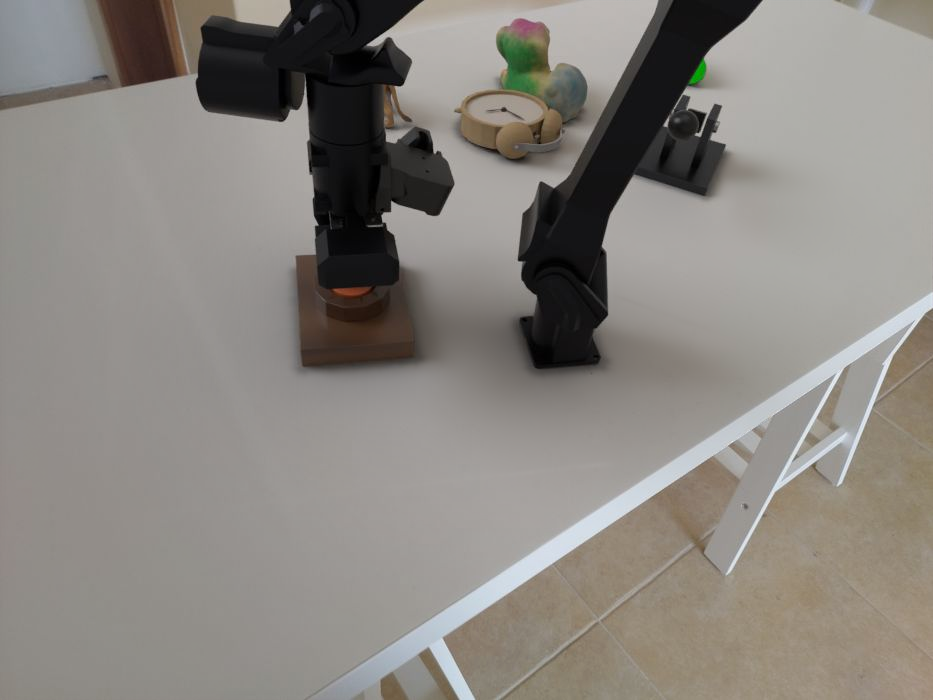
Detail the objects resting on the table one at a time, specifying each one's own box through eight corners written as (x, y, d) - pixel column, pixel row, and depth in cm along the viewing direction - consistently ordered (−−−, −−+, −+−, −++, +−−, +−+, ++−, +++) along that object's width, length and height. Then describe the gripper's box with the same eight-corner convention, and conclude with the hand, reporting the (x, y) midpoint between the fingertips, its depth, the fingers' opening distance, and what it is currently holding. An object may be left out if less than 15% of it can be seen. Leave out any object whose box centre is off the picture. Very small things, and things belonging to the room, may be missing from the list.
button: (375, 307, 68) (375, 293, 67) (331, 310, 67) (330, 296, 66) (371, 279, 71) (371, 265, 69) (329, 281, 70) (328, 267, 69)
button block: (413, 357, 67) (415, 326, 64) (302, 366, 65) (298, 335, 62) (396, 266, 76) (396, 235, 73) (297, 272, 74) (294, 240, 71)
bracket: (704, 196, 90) (725, 139, 85) (634, 174, 92) (650, 117, 87) (723, 152, 98) (744, 97, 92) (658, 132, 100) (674, 78, 95)
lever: (690, 145, 77) (702, 115, 76) (661, 137, 78) (672, 106, 77) (702, 136, 92) (712, 110, 91) (678, 129, 93) (687, 103, 92)
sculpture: (595, 111, 103) (611, 40, 96) (557, 130, 98) (571, 57, 91) (516, 72, 109) (525, 2, 102) (477, 88, 105) (484, 17, 97)
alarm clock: (506, 82, 100) (587, 110, 91) (506, 117, 103) (584, 148, 94) (441, 102, 95) (520, 134, 86) (443, 139, 98) (520, 174, 89)
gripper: (472, 192, 52) (456, 346, 63) (431, 69, 64) (423, 216, 76) (311, 198, 50) (324, 356, 61) (301, 70, 62) (313, 221, 73)
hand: (352, 280), depth 68 cm, fingers closed, pressing on button
